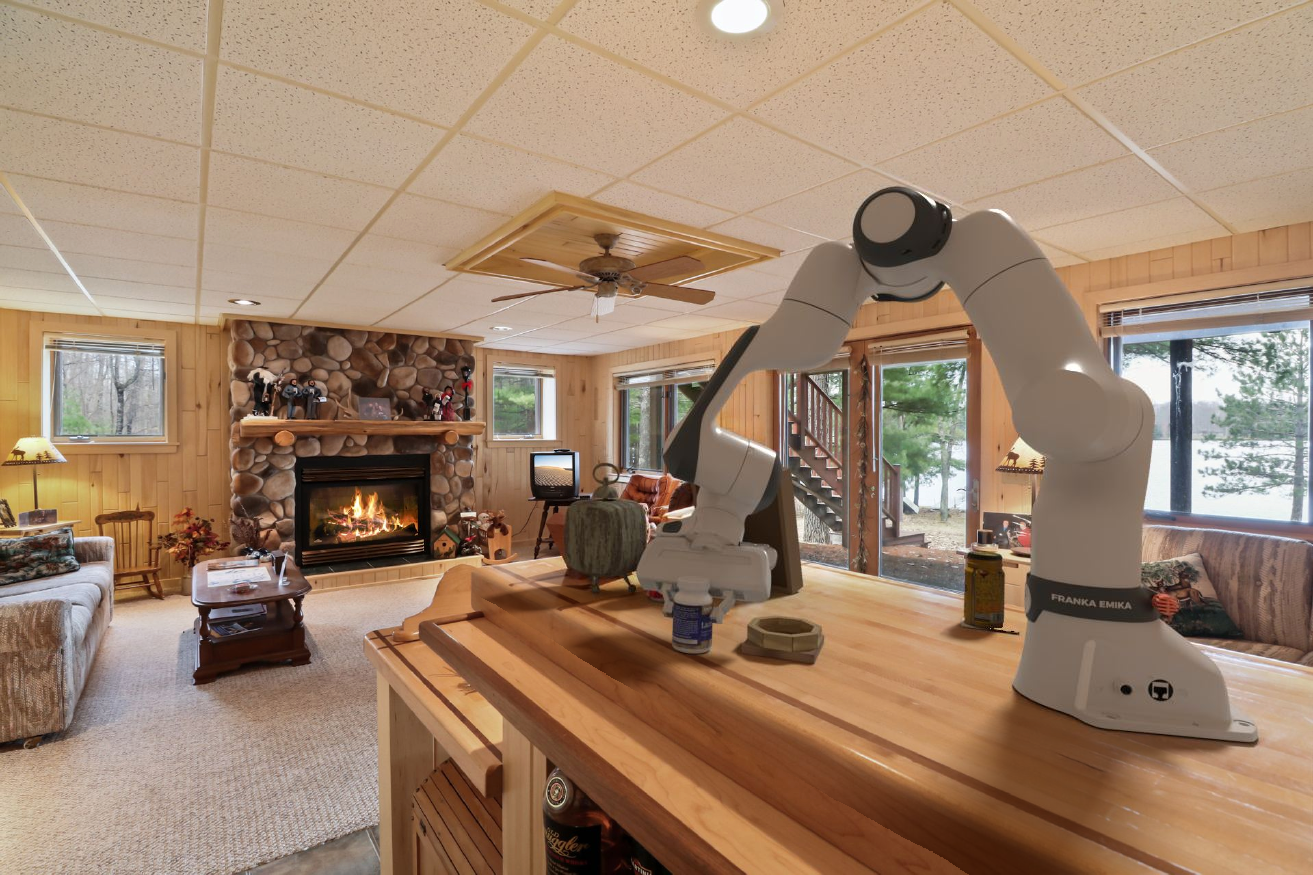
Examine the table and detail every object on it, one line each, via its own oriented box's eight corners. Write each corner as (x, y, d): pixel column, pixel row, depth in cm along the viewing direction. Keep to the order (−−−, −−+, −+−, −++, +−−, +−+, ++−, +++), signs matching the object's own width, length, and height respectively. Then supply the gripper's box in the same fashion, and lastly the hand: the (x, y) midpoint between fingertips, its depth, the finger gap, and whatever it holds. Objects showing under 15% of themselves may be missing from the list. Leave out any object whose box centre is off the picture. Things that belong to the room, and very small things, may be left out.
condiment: (961, 616, 112) (963, 548, 113) (1017, 624, 109) (1018, 552, 109) (960, 627, 106) (962, 554, 106) (1019, 635, 102) (1021, 559, 102)
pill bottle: (709, 656, 89) (711, 584, 89) (668, 652, 90) (670, 581, 90) (714, 643, 94) (715, 575, 94) (675, 640, 96) (677, 573, 96)
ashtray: (824, 642, 96) (824, 621, 96) (814, 663, 87) (814, 639, 87) (757, 633, 100) (758, 613, 100) (741, 653, 90) (742, 630, 90)
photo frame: (715, 574, 143) (716, 462, 143) (803, 591, 129) (805, 466, 129) (672, 585, 132) (674, 463, 132) (763, 605, 118) (765, 468, 118)
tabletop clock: (645, 593, 125) (648, 464, 125) (614, 601, 117) (617, 464, 118) (591, 581, 133) (593, 461, 134) (559, 589, 126) (562, 461, 126)
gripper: (781, 558, 99) (766, 639, 90) (658, 547, 107) (632, 621, 97) (776, 532, 95) (760, 615, 86) (648, 523, 102) (620, 598, 93)
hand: (691, 618), depth 92 cm, fingers closed on pill bottle, 6 cm apart
